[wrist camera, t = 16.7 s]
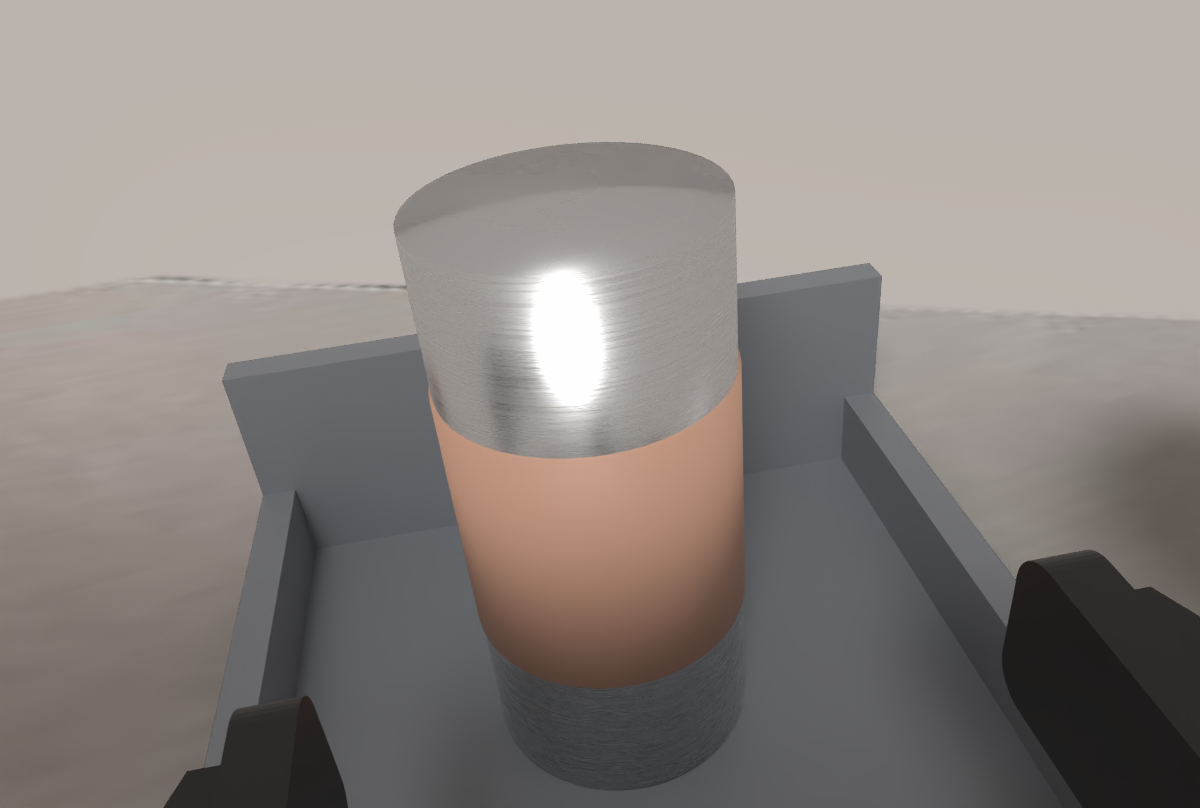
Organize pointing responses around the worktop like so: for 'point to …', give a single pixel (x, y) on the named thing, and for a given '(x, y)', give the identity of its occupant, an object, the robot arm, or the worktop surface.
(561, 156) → the tin can
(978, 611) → the tote
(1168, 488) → the worktop surface
